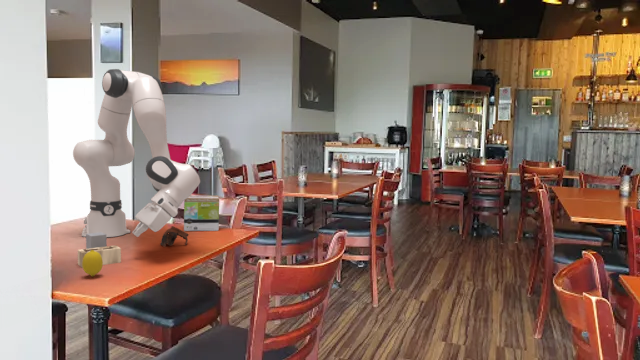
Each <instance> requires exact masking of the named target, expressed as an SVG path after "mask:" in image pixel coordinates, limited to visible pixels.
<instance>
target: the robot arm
mask: <svg viewBox="0 0 640 360" xmlns="http://www.w3.org/2000/svg"><path fill="white" fill-rule="evenodd" d="M103 74H104V75H103V76H102V80H101V81H102V82H101V85H102V86H101V87H102V90H103V92H104V95H103V98H102V102H101V105H100V109H99V115H98V117H97V125H98V127H99V128H100V129H101V130H102V131H103V132H105V136H104V139H88V140H82V141H79V142H77V143H76V144H75V146H74V147H73V151H72V155H73V159H74V161H75V163H76V164H77V165H78V166H80V167H81V168H82V169H83V170H84V172H85V173H86V175H87V177H88V180H89V184H90V198H91V199H90V201H89V213H88V214H87V216H86V217H84V218H83V225H85V226H84V227H83V228H82V231H81V237H85V238H86V234H90V233H98V232H102V233H104V234H106V238H112V237H113V238H114V237H120V236H123V235H125V234H129V233H130V234H131V230H130V229H128V228H127V219H126V218H127V217H126V213H125V212H124V211H123V210H122V208H123V207H122V205H123V203H122V200H121V183H120V180H119V179H118V178H116V177H115V176H113V174H111V172H110V167H120V166H125V165H127V164H131V163H132V162H133V160H134V159H135V155H136V151H135V147H134V146H133V144H132V143H131V142H130V141H129V138H128V125H129V120H130V117H131V113H132V110H133V114H134V117H135V119H136V121H137V125H138V126H139V128H140V130H141V131H142V133H143V135H144V137H145V138H146V140H147V142H148V144H149V148H150V152H151V157H152V158H151V159H150V160H149V161H147V164H146V166H145V172H146V175H147V176H146V177H148V180H149V181H150V183H151V184H152V187H153V189H154V191H156V193H155V194H154V196H152V197H151V198H150V201H151V202H149V203H147V204H146V205H145V206H144V207H142V208H141V210H139V211H138V213H136V214H135V216H134V218H135V219H136V220H137V221H138V223H137V225H136V226H135V228H134V230H132V234H133V236H135V237H136V238H138V237H140V236H141V234H143V233H144V232H147V230H149V229H150V230H151V231H152V232H154V233H156V232H159V231H160V230H162V229H163V227H164V226H165V225H167V224H168V223H169V222H170V220H171V219H172V218H175V217H176V216H177V215H178V213H179V212H178V209H179V208H180V207H181V205H182V203H184V200H185V199H187V198H188V197H189V196H190V195H192V194H193V193H194V192H195V191H196V190H197V188H198V187H199V185H200V183H201V176H200V173H198V171H197V170H196V169H195V168H194V166H193V165H191V164H189V163H180V162H177V161H174V160H172V159H171V155H170V150H169V145H168V139H167V138H168V137H167V135H168V134H167V110H166V103H165V100H164V95H163V85H162V82H161V80H160V79H159V78H158V77H156V76H154V75H152V74H146V73H144V72H143V73H142V72H141V71H135V70H134V71H130V70H123V69H119V68H113V69H108V70H106V72H104V73H103ZM132 108H133V109H132Z"/></svg>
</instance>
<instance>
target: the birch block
mask: <svg viewBox="0 0 640 360" xmlns="http://www.w3.org/2000/svg"><path fill="white" fill-rule="evenodd" d="M91 250H94V251H96V252H98V253H99V254H100V255H101V257H102V261H103V265H102V266H104V265H106V266H107V265H113V264H114V265H115V264H120V263H122V248H121V247H119V246H118V245H108V246H106V247H98V248H89V249H86V248H82V249H77V265H78V266H79V267H80V268H81V269H83V267H82V261H83V258H84V256H85V254H86V253H88V252H90V251H91Z"/></svg>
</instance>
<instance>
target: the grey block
mask: <svg viewBox="0 0 640 360" xmlns="http://www.w3.org/2000/svg"><path fill="white" fill-rule="evenodd" d="M107 238H108V237H106V234H104V233H102V232H98V233H90V234H86V237H85V245H86V246H85V249H89V248H98V247H106V246H107V244H108V243H107Z"/></svg>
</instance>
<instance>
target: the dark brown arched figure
mask: <svg viewBox="0 0 640 360" xmlns="http://www.w3.org/2000/svg"><path fill="white" fill-rule="evenodd" d="M189 235H190V234H188V233H187V231H184V230H181V229H179V228H178V227H176V226H174V225H171V227H170V228H168V229H166V230H165V231H164V232H163V235H162V238H161V241H160V246H162V247H164V248H167V245H168V246H174V243H175V241H176V240H177V238H178V237H180V238H183V240H185V242H184V246H187V245H188V240H189V239H188V237H189Z"/></svg>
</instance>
